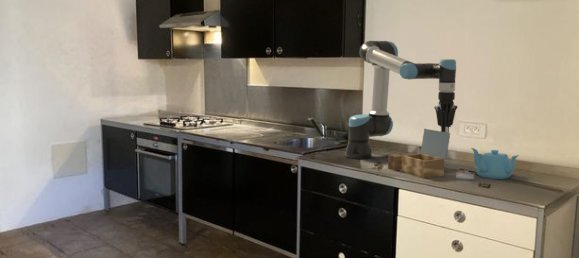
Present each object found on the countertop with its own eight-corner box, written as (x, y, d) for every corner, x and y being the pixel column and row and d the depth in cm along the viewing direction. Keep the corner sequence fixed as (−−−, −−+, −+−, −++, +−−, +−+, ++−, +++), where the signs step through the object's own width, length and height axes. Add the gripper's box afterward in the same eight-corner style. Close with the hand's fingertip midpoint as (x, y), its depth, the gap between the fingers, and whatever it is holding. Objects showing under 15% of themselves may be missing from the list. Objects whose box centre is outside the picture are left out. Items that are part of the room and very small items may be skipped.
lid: (424, 128, 242) (425, 128, 243) (420, 153, 243) (421, 153, 244) (449, 132, 228) (450, 133, 228) (445, 159, 229) (446, 159, 229)
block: (387, 168, 245) (388, 155, 244) (395, 167, 248) (396, 154, 247) (394, 170, 241) (394, 156, 240) (402, 169, 243) (402, 155, 242)
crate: (401, 171, 239) (401, 155, 238) (420, 169, 244) (420, 153, 243) (424, 178, 224) (424, 161, 223) (443, 175, 230) (444, 159, 229)
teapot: (477, 179, 222) (478, 153, 221) (469, 170, 240) (471, 146, 239) (517, 181, 219) (519, 154, 218) (506, 172, 237) (508, 147, 236)
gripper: (442, 92, 229) (440, 142, 232) (462, 91, 235) (460, 140, 238) (430, 91, 235) (428, 139, 239) (450, 90, 241) (448, 138, 245)
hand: (444, 140), depth 238 cm, fingers closed
